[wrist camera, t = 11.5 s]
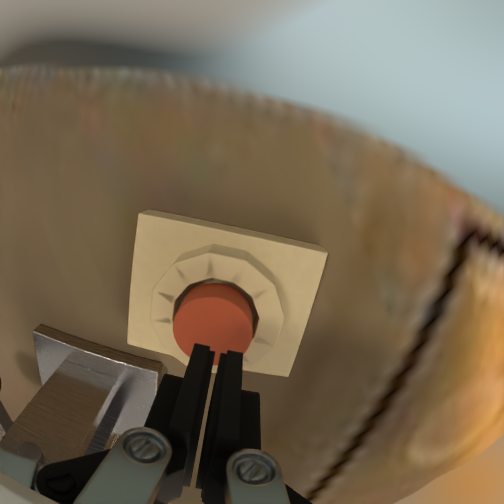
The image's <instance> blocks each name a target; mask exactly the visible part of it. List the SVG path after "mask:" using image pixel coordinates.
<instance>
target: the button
mask: <svg viewBox="0 0 504 504" xmlns="http://www.w3.org/2000/svg"><path fill="white" fill-rule="evenodd" d="M252 333H253V329H252V311H251V307H250V305H249V303H248V301H247V300H246V298H245V297H244V296H243V295H242V294H241V293H240V292H239V291H237V290H236V289H234V288H233V287H230V286H228V285H225V284H220V283H207V284H203V285H200V286H197V287H196V288H194V289H192V290H191V291H190V292H189V293H188V294H187V295H186V296H185V297H184V299H183V301H182V303H181V305H180V307H179V309H178V311H177V313H176V316H175V318H174V322H173V334H174V338H175V340H176V343H177V344H178V346H179V348H180V349H181V350H182V351H183V352H184V353H185V354H186V355H187V356H188V357H190V356H191V353H192V350H193V347H194V344H195V343H198V344H203V345H207V346H210V350H211V351H216V352H215V357H214V363H213V365H218V363H219V358H220V353H225V354H227V350H231V351H236V352H242V353H243V354H244V353H245V352H246V351H247V349H248V348H249V346H250V344H251V341H252Z"/></svg>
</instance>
